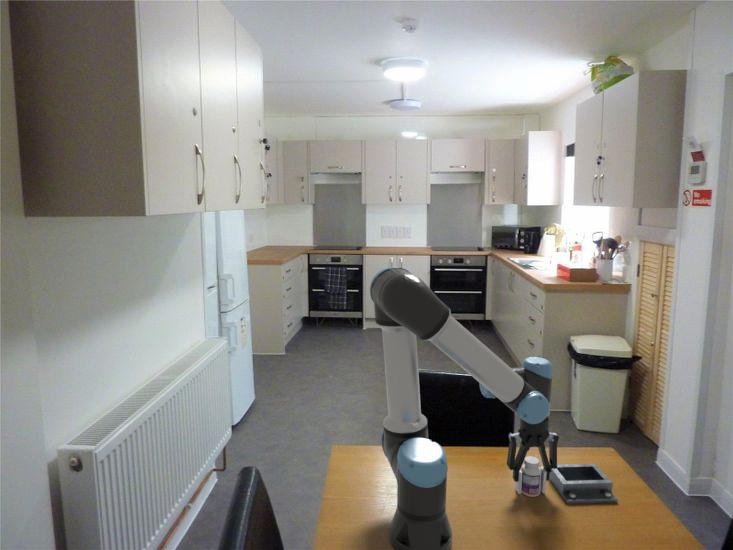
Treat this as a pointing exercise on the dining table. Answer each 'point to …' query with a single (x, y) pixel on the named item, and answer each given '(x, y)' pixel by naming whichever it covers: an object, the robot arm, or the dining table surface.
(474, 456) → the dining table surface
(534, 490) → the pill bottle
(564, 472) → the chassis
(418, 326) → the robot arm
